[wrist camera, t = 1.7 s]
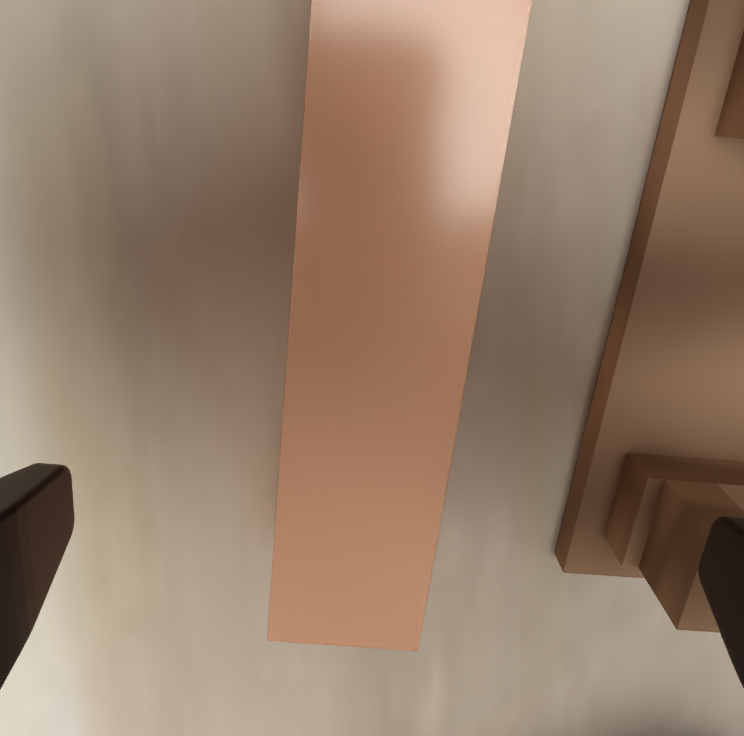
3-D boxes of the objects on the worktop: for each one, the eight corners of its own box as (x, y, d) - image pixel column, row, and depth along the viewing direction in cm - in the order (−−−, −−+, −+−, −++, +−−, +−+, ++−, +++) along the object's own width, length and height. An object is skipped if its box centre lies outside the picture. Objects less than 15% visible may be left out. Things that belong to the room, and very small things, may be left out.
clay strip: (404, 538, 22) (417, 650, 18) (285, 528, 22) (267, 640, 17) (487, 3, 17) (538, -38, 12) (327, -18, 16) (316, -68, 12)
